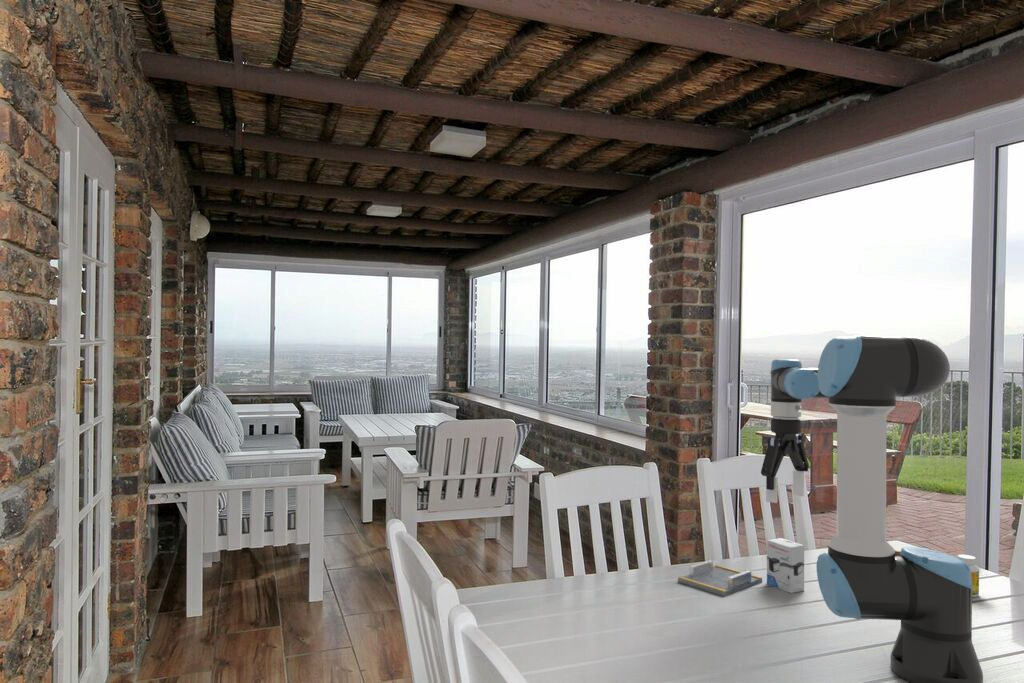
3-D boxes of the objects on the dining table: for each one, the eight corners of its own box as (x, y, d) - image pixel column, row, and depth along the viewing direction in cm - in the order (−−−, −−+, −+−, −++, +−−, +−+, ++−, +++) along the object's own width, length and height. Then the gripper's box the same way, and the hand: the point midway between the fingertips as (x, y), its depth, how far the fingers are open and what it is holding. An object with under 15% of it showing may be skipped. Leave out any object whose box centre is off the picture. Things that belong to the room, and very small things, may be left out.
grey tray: (723, 596, 175) (724, 582, 176) (677, 582, 186) (677, 568, 186) (762, 581, 187) (762, 568, 187) (716, 569, 198) (716, 556, 198)
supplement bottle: (952, 589, 183) (952, 552, 183) (976, 592, 181) (976, 555, 181) (956, 595, 178) (956, 558, 178) (981, 599, 176) (981, 560, 176)
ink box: (765, 583, 186) (766, 539, 186) (779, 581, 188) (779, 537, 188) (790, 593, 178) (791, 547, 178) (805, 591, 180) (805, 545, 180)
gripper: (774, 422, 173) (773, 507, 173) (822, 416, 189) (822, 494, 189) (747, 419, 179) (746, 502, 178) (796, 414, 195) (795, 490, 195)
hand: (785, 498), depth 184 cm, fingers open, 13 cm apart
